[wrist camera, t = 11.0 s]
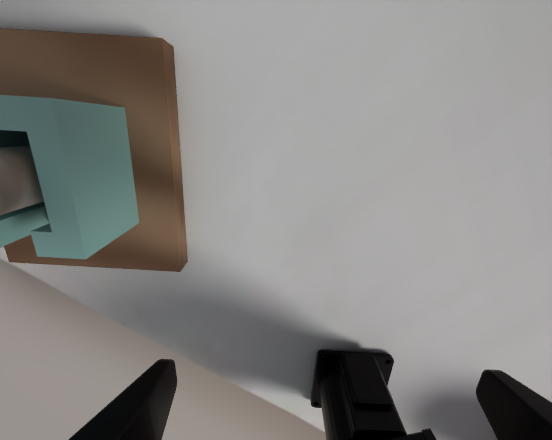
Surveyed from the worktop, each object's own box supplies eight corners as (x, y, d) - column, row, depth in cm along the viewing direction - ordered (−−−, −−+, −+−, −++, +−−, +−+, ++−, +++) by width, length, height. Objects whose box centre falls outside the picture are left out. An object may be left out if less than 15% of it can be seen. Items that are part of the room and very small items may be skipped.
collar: (139, 222, 17) (85, 259, 12) (32, 216, 17) (-63, 250, 12) (124, 107, 15) (51, 98, 10) (0, 99, 15) (-132, 86, 10)
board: (187, 261, 20) (124, 353, 12) (28, 252, 20) (-145, 338, 12) (173, 46, 15) (50, -47, 7) (-36, 33, 15) (-404, -77, 7)
